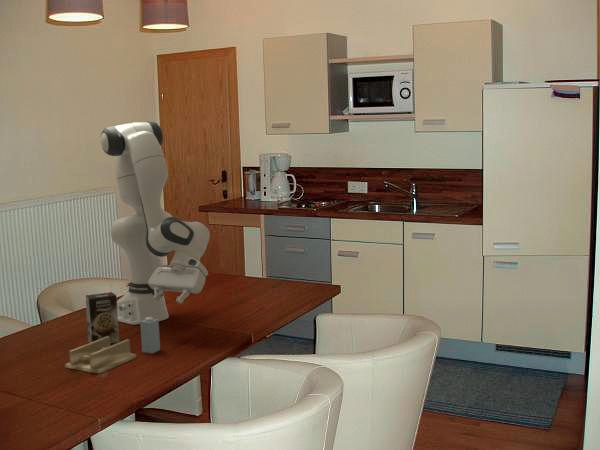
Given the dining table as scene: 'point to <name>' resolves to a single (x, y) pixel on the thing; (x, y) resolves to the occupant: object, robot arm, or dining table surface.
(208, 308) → the dining table surface
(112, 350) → the beige ladder rack
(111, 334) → the coffee box
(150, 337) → the block
